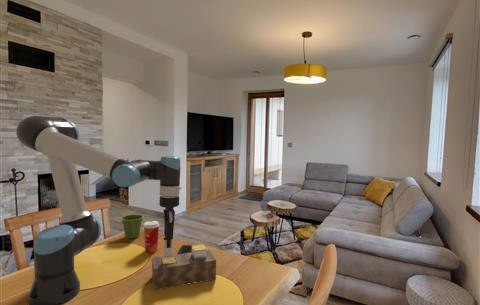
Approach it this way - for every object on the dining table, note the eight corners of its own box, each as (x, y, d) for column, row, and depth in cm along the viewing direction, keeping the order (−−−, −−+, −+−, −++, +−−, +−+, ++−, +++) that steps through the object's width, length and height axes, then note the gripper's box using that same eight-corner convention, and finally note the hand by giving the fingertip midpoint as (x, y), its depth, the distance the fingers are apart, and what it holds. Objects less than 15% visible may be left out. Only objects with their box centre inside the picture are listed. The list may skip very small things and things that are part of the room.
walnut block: (153, 289, 101) (153, 269, 100) (152, 276, 110) (152, 257, 110) (215, 279, 109) (216, 260, 109) (209, 267, 119) (209, 250, 118)
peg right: (193, 267, 108) (194, 250, 108) (191, 262, 113) (191, 245, 113) (206, 265, 110) (206, 249, 110) (203, 260, 115) (203, 244, 114)
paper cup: (142, 248, 136) (142, 221, 136) (158, 246, 140) (158, 219, 139) (143, 255, 129) (144, 226, 129) (160, 252, 133) (160, 224, 132)
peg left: (162, 281, 104) (163, 264, 104) (161, 275, 109) (161, 258, 108) (176, 279, 106) (176, 262, 106) (174, 273, 111) (174, 256, 110)
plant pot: (147, 234, 156) (147, 215, 155) (134, 242, 144) (134, 221, 144) (130, 231, 159) (130, 213, 158) (116, 239, 148) (116, 219, 147)
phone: (197, 245, 140) (191, 258, 125) (197, 247, 140) (191, 261, 125) (182, 245, 140) (174, 258, 125) (182, 247, 141) (174, 260, 126)
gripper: (182, 199, 101) (180, 260, 102) (177, 191, 113) (175, 246, 114) (161, 200, 98) (159, 263, 99) (158, 192, 110) (156, 248, 112)
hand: (167, 254), depth 107 cm, fingers closed
